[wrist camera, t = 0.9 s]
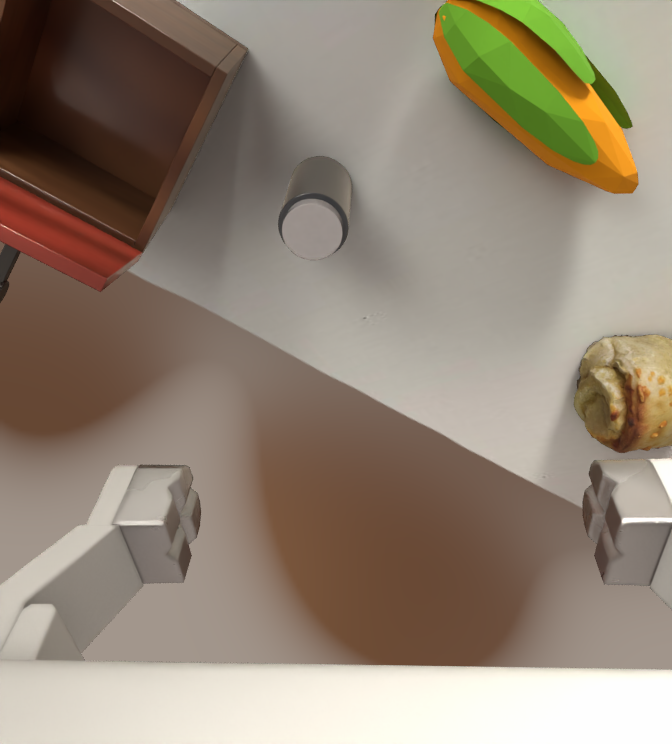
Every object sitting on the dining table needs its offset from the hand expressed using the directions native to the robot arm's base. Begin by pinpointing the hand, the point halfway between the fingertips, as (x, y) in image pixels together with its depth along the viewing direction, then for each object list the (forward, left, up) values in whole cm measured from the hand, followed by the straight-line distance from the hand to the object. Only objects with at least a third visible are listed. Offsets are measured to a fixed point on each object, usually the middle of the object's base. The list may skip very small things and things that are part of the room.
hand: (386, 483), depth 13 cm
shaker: (+9, -7, -43) cm, 44 cm away
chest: (-2, -20, -43) cm, 47 cm away
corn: (+5, +11, -43) cm, 44 cm away
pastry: (+35, +19, -43) cm, 58 cm away
